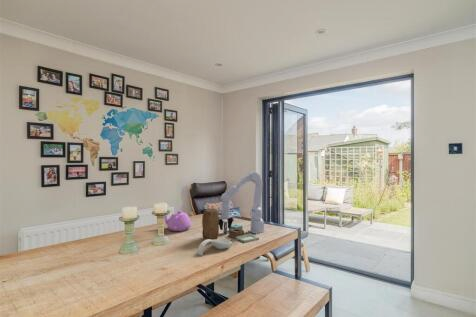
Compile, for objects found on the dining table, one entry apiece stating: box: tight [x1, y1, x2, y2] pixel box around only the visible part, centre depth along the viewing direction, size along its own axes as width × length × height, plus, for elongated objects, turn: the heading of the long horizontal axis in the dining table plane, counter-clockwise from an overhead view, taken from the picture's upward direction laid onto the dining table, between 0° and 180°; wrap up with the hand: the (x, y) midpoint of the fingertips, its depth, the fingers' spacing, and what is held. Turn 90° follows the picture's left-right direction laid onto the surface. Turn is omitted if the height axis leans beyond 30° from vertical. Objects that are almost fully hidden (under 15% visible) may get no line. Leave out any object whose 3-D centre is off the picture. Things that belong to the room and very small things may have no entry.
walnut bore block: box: [228, 228, 245, 239], centre depth 184 cm, size 7×7×4 cm
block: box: [201, 208, 220, 241], centre depth 174 cm, size 11×8×20 cm
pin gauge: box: [223, 221, 228, 235], centre depth 190 cm, size 2×2×8 cm
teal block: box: [228, 223, 243, 231], centre depth 196 cm, size 7×7×4 cm
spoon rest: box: [196, 238, 233, 257], centre depth 157 cm, size 24×12×7 cm, turn 139°
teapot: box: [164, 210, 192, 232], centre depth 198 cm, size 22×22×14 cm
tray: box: [235, 233, 260, 244], centre depth 178 cm, size 12×9×2 cm
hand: (225, 229), depth 190 cm, fingers open, 6 cm apart
